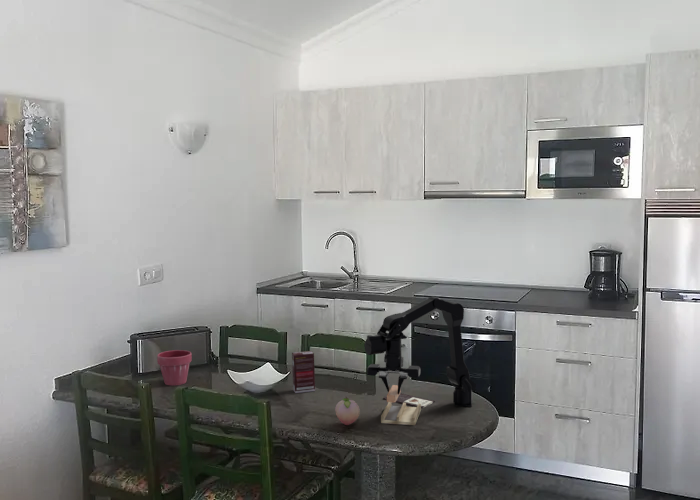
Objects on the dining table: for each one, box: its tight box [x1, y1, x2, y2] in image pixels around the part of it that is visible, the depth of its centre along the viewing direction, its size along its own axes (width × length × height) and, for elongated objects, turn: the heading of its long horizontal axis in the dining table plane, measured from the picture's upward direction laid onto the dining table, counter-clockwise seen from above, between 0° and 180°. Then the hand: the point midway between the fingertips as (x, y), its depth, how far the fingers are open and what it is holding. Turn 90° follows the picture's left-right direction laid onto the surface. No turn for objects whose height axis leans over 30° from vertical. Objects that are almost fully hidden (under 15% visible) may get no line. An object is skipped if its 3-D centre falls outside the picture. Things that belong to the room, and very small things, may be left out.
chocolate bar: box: [382, 393, 436, 409], centre depth 262 cm, size 9×1×18 cm
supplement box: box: [291, 350, 316, 394], centre depth 276 cm, size 9×5×16 cm, turn 106°
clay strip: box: [386, 384, 402, 403], centre depth 244 cm, size 3×12×2 cm, turn 167°
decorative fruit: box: [334, 397, 361, 426], centre depth 236 cm, size 9×8×10 cm
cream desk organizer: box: [380, 402, 422, 426], centre depth 244 cm, size 12×16×2 cm
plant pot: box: [156, 349, 193, 386], centre depth 290 cm, size 14×14×13 cm
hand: (394, 393), depth 244 cm, fingers closed on clay strip, 3 cm apart
